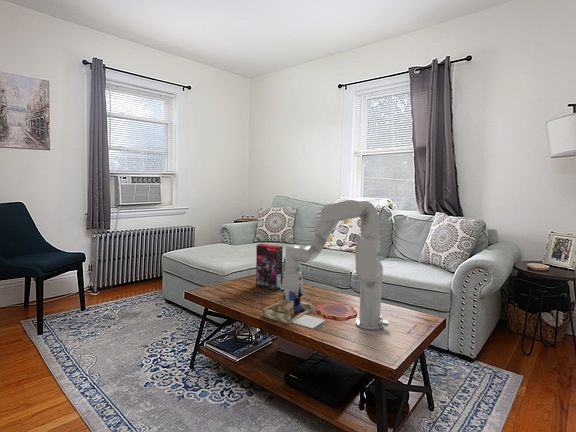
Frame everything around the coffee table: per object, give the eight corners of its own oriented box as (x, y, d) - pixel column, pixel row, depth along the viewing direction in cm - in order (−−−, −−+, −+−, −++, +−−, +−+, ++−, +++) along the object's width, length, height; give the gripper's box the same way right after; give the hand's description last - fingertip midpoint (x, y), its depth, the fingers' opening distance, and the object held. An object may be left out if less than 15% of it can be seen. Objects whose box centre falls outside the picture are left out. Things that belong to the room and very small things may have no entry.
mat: (325, 320, 168) (325, 320, 168) (312, 328, 158) (312, 328, 158) (304, 315, 175) (304, 314, 175) (291, 322, 165) (291, 321, 165)
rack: (312, 311, 181) (312, 304, 181) (289, 323, 164) (289, 316, 164) (287, 304, 190) (287, 298, 190) (262, 316, 173) (262, 309, 173)
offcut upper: (293, 308, 173) (293, 300, 173) (288, 312, 168) (288, 304, 168) (283, 307, 176) (283, 299, 175) (278, 311, 170) (278, 303, 170)
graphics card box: (255, 286, 224) (255, 244, 222) (262, 284, 230) (262, 243, 228) (276, 291, 215) (276, 247, 212) (282, 288, 220) (283, 246, 218)
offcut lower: (294, 317, 173) (294, 309, 172) (287, 321, 168) (287, 313, 167) (284, 314, 176) (284, 307, 176) (277, 318, 171) (277, 310, 171)
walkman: (300, 310, 182) (300, 287, 181) (300, 311, 179) (300, 289, 179) (285, 309, 183) (285, 287, 182) (284, 311, 180) (285, 288, 179)
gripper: (310, 270, 178) (309, 305, 179) (283, 265, 187) (282, 298, 189) (302, 273, 171) (301, 309, 173) (274, 268, 181) (274, 301, 183)
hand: (291, 303), depth 181 cm, fingers closed on walkman, 6 cm apart
